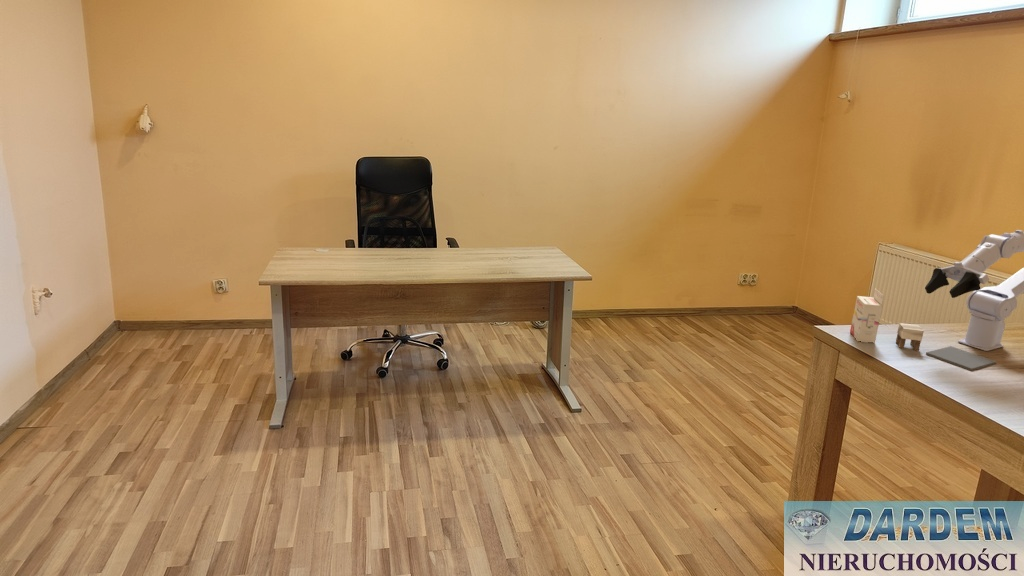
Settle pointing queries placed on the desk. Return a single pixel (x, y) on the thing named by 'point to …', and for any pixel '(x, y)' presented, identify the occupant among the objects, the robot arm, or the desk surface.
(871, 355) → the desk surface
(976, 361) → the mat
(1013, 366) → the desk surface
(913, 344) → the stool
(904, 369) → the desk surface
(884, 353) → the desk surface
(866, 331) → the ink cartridge box
